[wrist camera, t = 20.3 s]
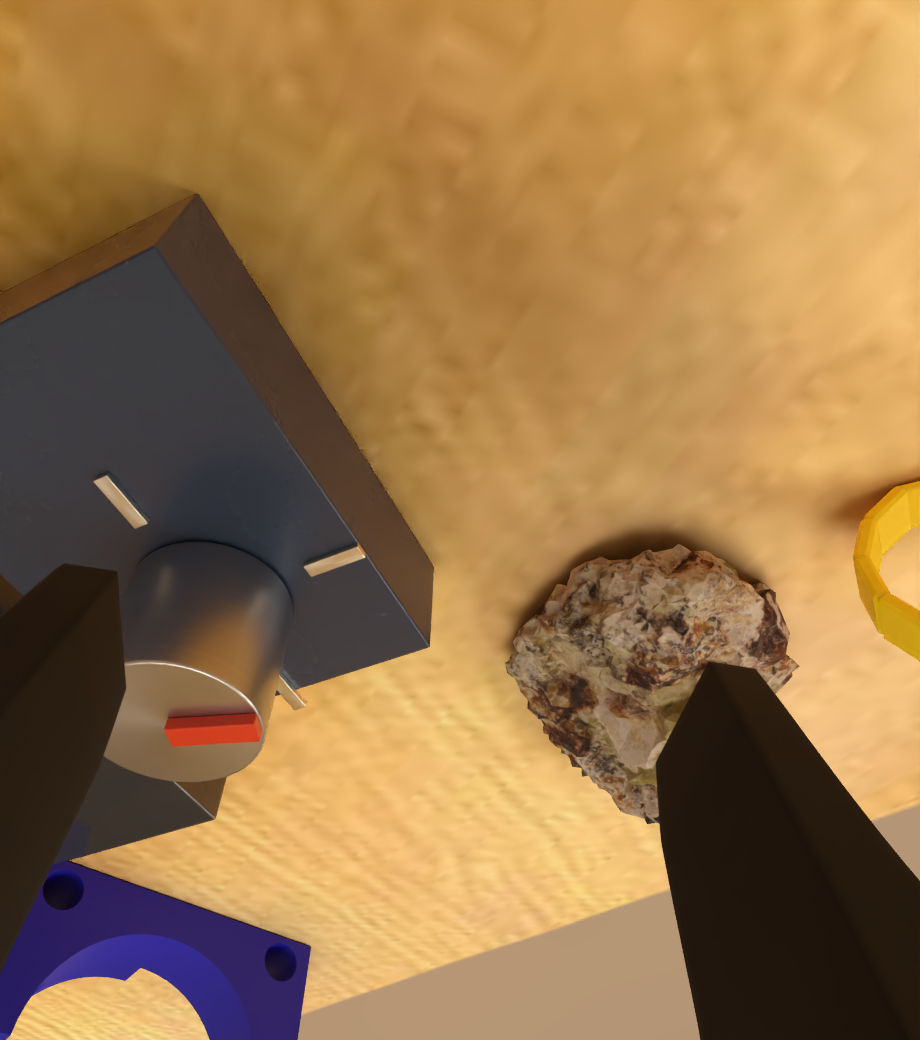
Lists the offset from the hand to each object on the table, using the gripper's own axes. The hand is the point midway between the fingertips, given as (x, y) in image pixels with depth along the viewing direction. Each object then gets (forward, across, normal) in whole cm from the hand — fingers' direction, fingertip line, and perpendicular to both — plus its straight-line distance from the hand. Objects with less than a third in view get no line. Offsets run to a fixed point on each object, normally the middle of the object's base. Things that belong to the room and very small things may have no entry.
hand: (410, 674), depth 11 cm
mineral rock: (+11, -8, +10) cm, 16 cm away
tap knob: (+7, +4, +7) cm, 11 cm away
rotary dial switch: (+10, +5, +5) cm, 13 cm away
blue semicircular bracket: (+11, +7, +29) cm, 31 cm away
